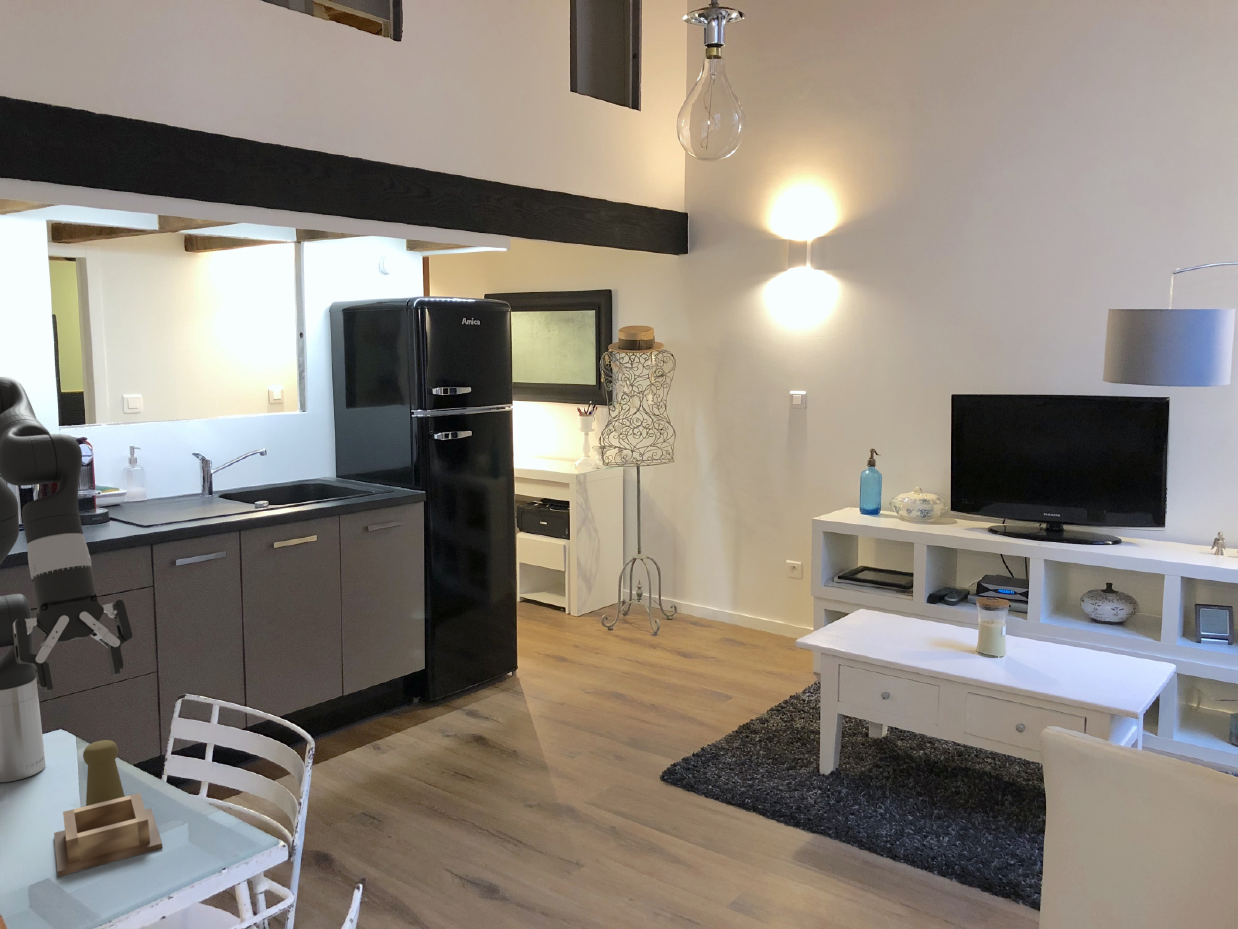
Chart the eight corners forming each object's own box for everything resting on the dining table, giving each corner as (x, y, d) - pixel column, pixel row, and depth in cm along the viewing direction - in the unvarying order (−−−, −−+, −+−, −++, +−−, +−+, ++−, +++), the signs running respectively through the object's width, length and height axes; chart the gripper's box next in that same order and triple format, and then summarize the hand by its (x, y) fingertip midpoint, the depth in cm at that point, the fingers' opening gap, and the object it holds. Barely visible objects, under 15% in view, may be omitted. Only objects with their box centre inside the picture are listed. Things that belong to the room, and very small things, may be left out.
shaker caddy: (58, 877, 140) (54, 848, 140) (54, 837, 152) (51, 810, 152) (162, 848, 148) (159, 820, 147) (151, 812, 160) (149, 787, 159)
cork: (85, 816, 159) (78, 753, 158) (86, 802, 164) (79, 740, 163) (125, 807, 162) (119, 745, 160) (125, 793, 167) (119, 733, 166)
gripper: (108, 566, 143) (129, 673, 141) (-2, 584, 134) (19, 699, 132) (122, 556, 138) (144, 667, 136) (8, 574, 128) (30, 693, 126)
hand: (82, 682), depth 134 cm, fingers open, 8 cm apart
